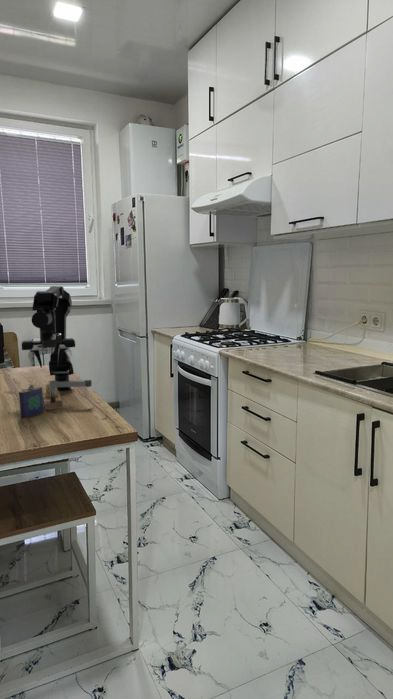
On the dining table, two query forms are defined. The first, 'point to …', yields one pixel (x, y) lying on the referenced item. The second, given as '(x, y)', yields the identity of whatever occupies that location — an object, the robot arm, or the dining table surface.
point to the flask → (31, 402)
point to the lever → (66, 384)
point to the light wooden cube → (49, 389)
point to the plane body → (52, 405)
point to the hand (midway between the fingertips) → (50, 366)
